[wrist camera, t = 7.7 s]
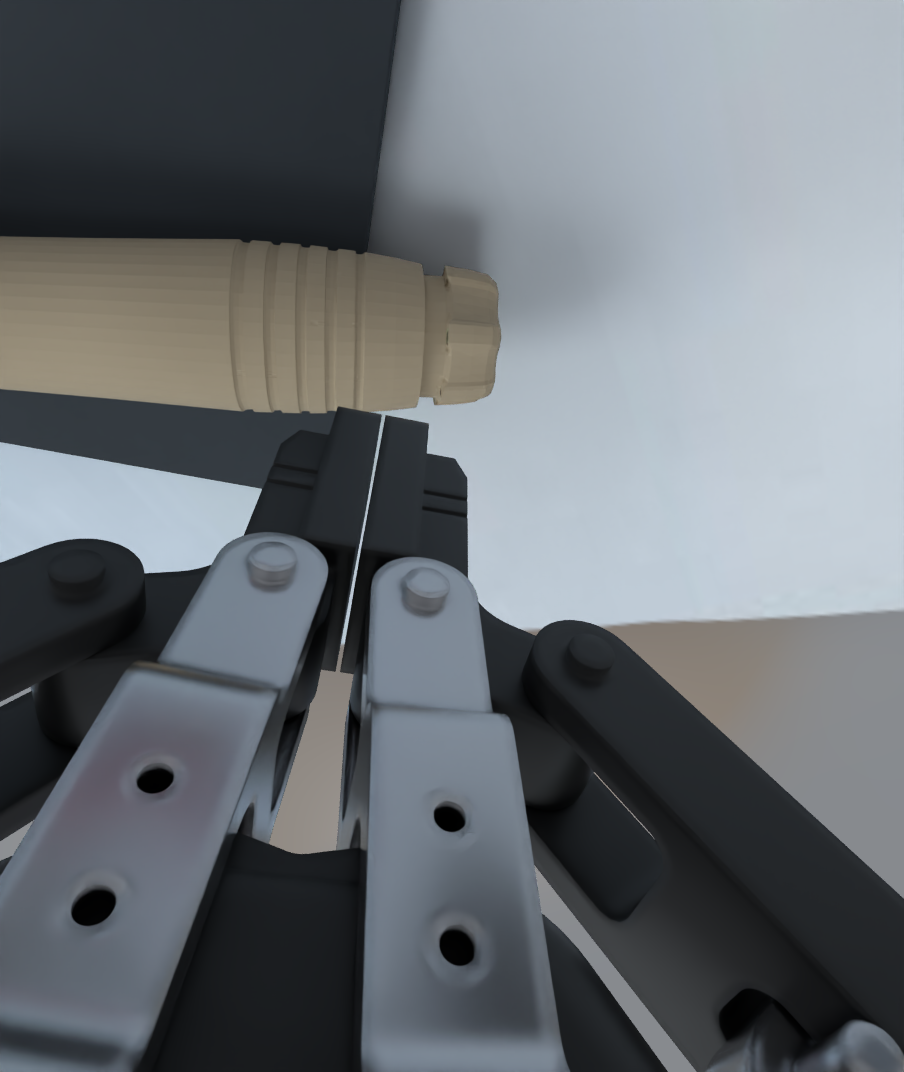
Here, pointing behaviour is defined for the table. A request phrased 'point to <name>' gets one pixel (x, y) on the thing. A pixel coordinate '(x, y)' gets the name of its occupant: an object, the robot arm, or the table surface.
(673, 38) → the table surface
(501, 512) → the table surface
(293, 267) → the handle
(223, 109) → the mat
